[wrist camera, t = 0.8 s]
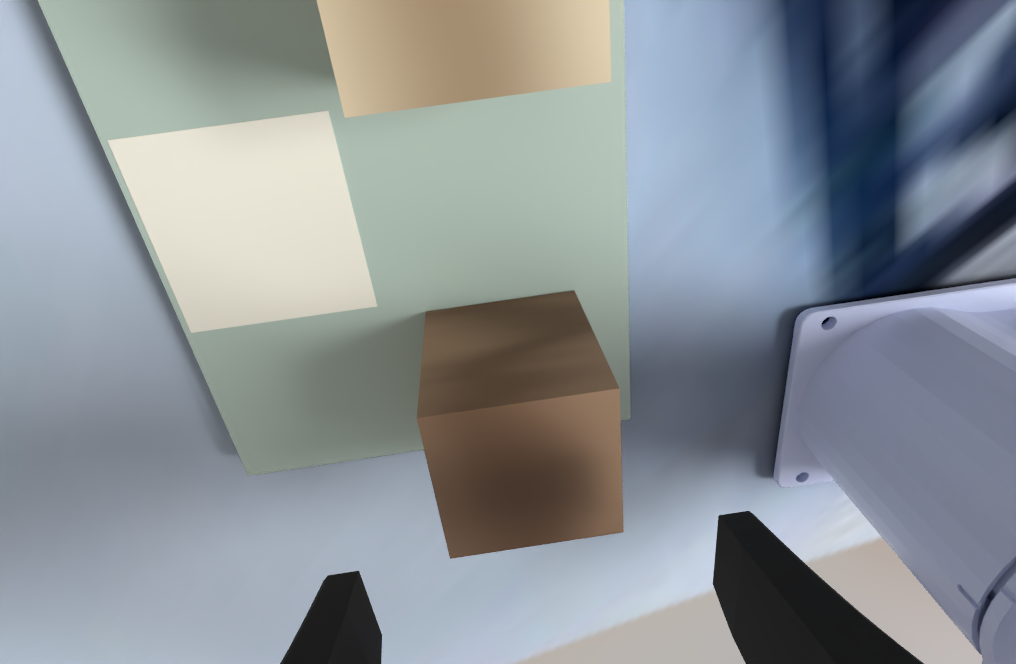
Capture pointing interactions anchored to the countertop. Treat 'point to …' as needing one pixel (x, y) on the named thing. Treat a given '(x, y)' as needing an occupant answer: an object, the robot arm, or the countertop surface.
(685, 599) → the countertop surface
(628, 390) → the board
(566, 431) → the walnut block
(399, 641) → the countertop surface
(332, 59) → the oak block
